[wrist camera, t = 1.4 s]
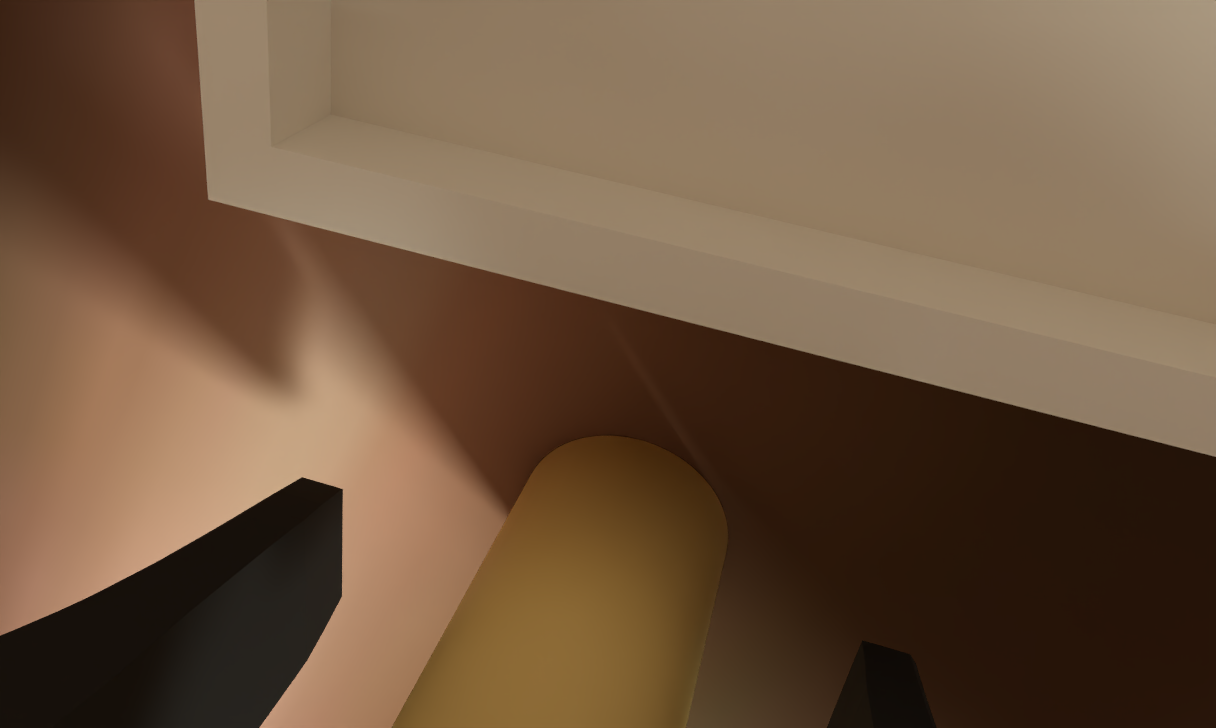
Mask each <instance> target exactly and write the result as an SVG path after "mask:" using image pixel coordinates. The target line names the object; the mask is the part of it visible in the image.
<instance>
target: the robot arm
mask: <svg viewBox="0 0 1216 728" xmlns="http://www.w3.org/2000/svg"><path fill="white" fill-rule="evenodd" d="M342 502H343V489H340V488H337V487H334V486H330V485H327V484H323V483H320V482H316V481H313V480H310V479H306V478H303V477H302V478H300V479H299V480H297V481H295V482H293V483H292V484H290V485H288V486H286V487H285V488H283V489H281V490H279V491H278V492H276V493H274V494H273V495H271V496H269V497H268V498H266V499H264V500H263V501H261V502H259V503H258V504H256V505H254V506H253V507H251V508H249V509H247V510H246V511H244V512H242V513H241V514H239V515H237V516H236V517H234V518H232V519H231V520H229V521H227V522H226V523H224V524H222V525H221V526H219V527H217V528H216V529H214V530H212V531H210V532H209V533H207V534H205V535H203V536H202V537H200V538H198V539H196V540H195V541H193V542H191V543H189V544H188V545H186V546H184V547H182V548H181V549H179V550H177V551H175V552H174V553H172V554H170V555H168V556H167V557H165V558H163V559H161V560H159V561H158V562H156V563H154V564H152V565H150V566H148V567H146V568H144V569H142V570H141V571H139V572H137V573H135V574H133V575H131V576H129V577H127V578H125V579H123V580H121V581H119V582H117V583H115V584H114V585H112V586H110V587H108V588H106V589H104V590H102V591H100V592H98V593H96V594H94V595H92V596H90V597H88V598H86V599H84V600H82V601H79V602H77V603H75V604H73V605H71V606H69V607H66V608H64V609H62V610H60V611H58V612H55V613H53V614H51V615H48V616H46V617H44V618H41V619H39V620H37V621H34V622H32V623H30V624H27V625H25V626H23V627H20V628H18V629H16V630H13V631H11V632H8V633H6V634H3V635H1V636H0V728H259V727H260V726H261V724H262V723H263V722H264V720H265V719H266V717H267V716H268V715H269V713H270V712H271V711H272V709H273V708H274V706H275V705H276V704H277V702H278V701H279V699H280V698H281V697H282V695H283V694H284V692H285V691H286V689H287V688H288V687H289V685H290V684H291V682H292V681H293V680H294V678H295V677H296V675H297V674H298V673H299V671H300V670H301V668H302V667H303V665H304V664H305V662H306V661H307V659H308V658H309V656H310V654H311V652H312V651H313V649H314V647H315V645H316V643H317V642H318V640H319V638H320V636H321V635H322V633H323V631H324V629H325V627H326V625H327V623H328V622H329V620H330V618H331V616H332V614H333V612H334V610H335V608H336V606H337V605H338V603H339V601H340V599H341V597H342ZM827 728H936V725H935V722H934V719H933V716H932V713H931V710H930V708H929V705H928V701H927V698H926V695H925V692H924V689H923V686H922V683H921V680H920V676H919V673H918V670H917V666H916V663H915V661H914V660H913V658H912V657H911V655H910V654H907V653H904V652H900V651H897V650H893V649H890V648H887V647H883V646H880V645H876V644H873V643H869V642H866V641H862V642H861V645H860V647H859V650H858V652H857V655H856V657H855V660H854V662H853V665H852V667H851V669H850V672H849V674H848V677H847V679H846V682H845V684H844V687H843V689H842V692H841V694H840V697H839V699H838V702H837V704H836V707H835V709H834V711H833V714H832V716H831V719H830V721H829V724H828V726H827Z"/></svg>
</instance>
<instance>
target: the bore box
mask: <svg viewBox="0 0 1216 728" xmlns="http://www.w3.org/2000/svg"><path fill="white" fill-rule="evenodd" d="M194 2H195V17H196V31H197V45H198V60H199V74H200V89H201V103H202V118H203V132H204V146H205V161H206V175H207V190H208V200H212V201H216V202H220V203H223V204H227V205H231V206H235V207H239V208H243V209H247V210H251V211H255V212H259V213H263V214H267V215H270V216H274V217H278V218H282V219H286V220H290V221H294V222H298V223H302V224H306V225H310V226H314V227H317V228H321V229H325V230H329V231H333V232H337V233H341V234H345V235H349V236H353V237H357V238H361V239H364V240H368V241H372V242H376V243H380V244H384V245H388V246H392V247H396V248H400V249H404V250H408V251H411V252H415V253H419V254H423V255H427V256H431V257H435V258H439V259H443V260H447V261H451V262H455V263H459V264H462V265H466V266H470V267H474V268H478V269H482V270H486V271H490V272H494V273H498V274H502V275H506V276H509V277H513V278H517V279H521V280H525V281H529V282H533V283H537V284H541V285H545V286H549V287H553V288H556V289H560V290H564V291H568V292H572V293H576V294H580V295H584V296H588V297H592V298H596V299H600V300H603V301H607V302H611V303H615V304H619V305H623V306H627V307H631V308H635V309H639V310H643V311H647V312H650V313H654V314H658V315H662V316H666V317H670V318H674V319H678V320H682V321H686V322H690V323H694V324H697V325H701V326H705V327H709V328H713V329H717V330H721V331H725V332H729V333H733V334H737V335H741V336H744V337H748V338H752V339H756V340H760V341H764V342H768V343H772V344H776V345H780V346H784V347H788V348H792V349H795V350H799V351H803V352H807V353H811V354H815V355H819V356H823V357H827V358H831V359H835V360H839V361H842V362H846V363H850V364H854V365H858V366H862V367H866V368H870V369H874V370H878V371H882V372H886V373H889V374H893V375H897V376H901V377H905V378H909V379H913V380H917V381H921V382H925V383H929V384H933V385H936V386H940V387H944V388H948V389H952V390H956V391H960V392H964V393H968V394H972V395H976V396H980V397H983V398H987V399H991V400H995V401H999V402H1003V403H1007V404H1011V405H1015V406H1019V407H1023V408H1027V409H1030V410H1034V411H1038V412H1042V413H1046V414H1050V415H1054V416H1058V417H1062V418H1066V419H1070V420H1074V421H1077V422H1081V423H1085V424H1089V425H1093V426H1097V427H1101V428H1105V429H1109V430H1113V431H1117V432H1121V433H1125V434H1128V435H1132V436H1136V437H1140V438H1144V439H1148V440H1152V441H1156V442H1160V443H1164V444H1168V445H1172V446H1175V447H1179V448H1183V449H1187V450H1191V451H1195V452H1199V453H1203V454H1207V455H1211V456H1215V457H1216V0H194Z"/></svg>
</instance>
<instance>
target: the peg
mask: <svg viewBox="0 0 1216 728" xmlns="http://www.w3.org/2000/svg"><path fill="white" fill-rule="evenodd" d="M727 546H728V527H727V520H726V517H725V514H724V510H723V508H722V506H721V503H720V501H719V499H718V497H717V496H716V494H715V493H714V491H713V489H712V488H711V486H710V485H709V484H708V483H707V482H706V480H705V479H704V478H703V477H702V476H701V475H700V474H699V473H698V472H697V471H696V470H695V469H694V468H693V467H692V466H690V465H689V464H688V463H686V462H685V461H684V460H682V459H681V458H679V457H678V456H676V455H674V454H673V453H671V452H669V451H667V450H665V449H663V448H661V447H659V446H656V445H654V444H651V443H648V442H645V441H642V440H638V439H634V438H629V437H622V436H593V437H585V438H581V439H578V440H574V441H571V442H569V443H566V444H564V445H562V446H560V447H558V448H557V449H555V450H553V451H552V452H550V453H549V454H548V455H547V456H546V457H544V458H543V459H542V460H541V461H540V463H539V464H538V465H537V466H536V467H535V469H534V471H533V472H532V474H531V475H530V477H529V479H528V481H527V483H526V485H525V486H524V488H523V490H522V492H521V494H520V495H519V497H518V499H517V501H516V503H515V505H514V506H513V508H512V510H511V512H510V514H509V515H508V517H507V519H506V521H505V523H504V524H503V526H502V528H501V530H500V532H499V534H498V535H497V537H496V539H495V541H494V543H493V544H492V546H491V548H490V550H489V552H488V554H487V555H486V557H485V559H484V561H483V563H482V564H481V566H480V568H479V570H478V572H477V574H476V575H475V577H474V579H473V581H472V583H471V584H470V586H469V588H468V590H467V592H466V593H465V595H464V597H463V599H462V601H461V603H460V604H459V606H458V608H457V610H456V612H455V613H454V615H453V617H452V619H451V621H450V623H449V624H448V626H447V628H446V630H445V632H444V633H443V635H442V637H441V639H440V641H439V643H438V644H437V646H436V648H435V650H434V652H433V653H432V655H431V657H430V659H429V661H428V663H427V664H426V666H425V668H424V670H423V672H422V673H421V675H420V677H419V679H418V681H417V682H416V684H415V686H414V688H413V690H412V692H411V693H410V695H409V697H408V699H407V701H406V702H405V704H404V706H403V708H402V710H401V712H400V713H399V715H398V717H397V719H396V721H395V722H394V724H393V726H392V728H686V725H687V721H688V716H689V712H690V708H691V703H692V699H693V695H694V690H695V686H696V682H697V677H698V673H699V668H700V664H701V660H702V655H703V651H704V647H705V642H706V638H707V634H708V629H709V625H710V621H711V616H712V612H713V608H714V603H715V599H716V595H717V590H718V586H719V582H720V577H721V573H722V569H723V564H724V560H725V556H726V551H727Z"/></svg>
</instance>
